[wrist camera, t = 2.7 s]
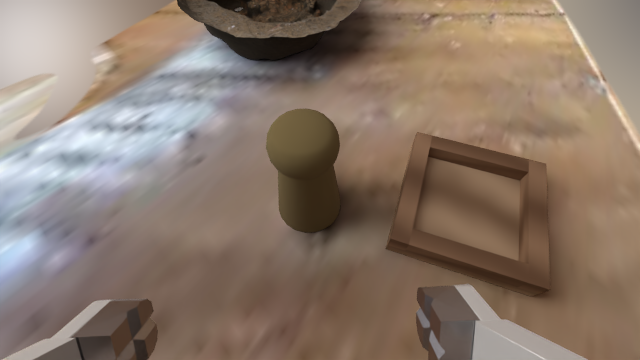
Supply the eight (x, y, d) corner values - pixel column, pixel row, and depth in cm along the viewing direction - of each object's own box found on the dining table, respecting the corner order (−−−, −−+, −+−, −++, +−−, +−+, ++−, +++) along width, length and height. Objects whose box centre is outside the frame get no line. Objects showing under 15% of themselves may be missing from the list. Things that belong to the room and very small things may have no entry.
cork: (296, 169, 31) (282, 86, 22) (350, 189, 30) (360, 109, 21) (267, 217, 29) (238, 146, 19) (325, 242, 27) (324, 178, 18)
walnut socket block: (531, 296, 24) (550, 289, 22) (385, 248, 27) (390, 238, 25) (530, 178, 30) (546, 163, 28) (411, 147, 33) (417, 132, 30)
